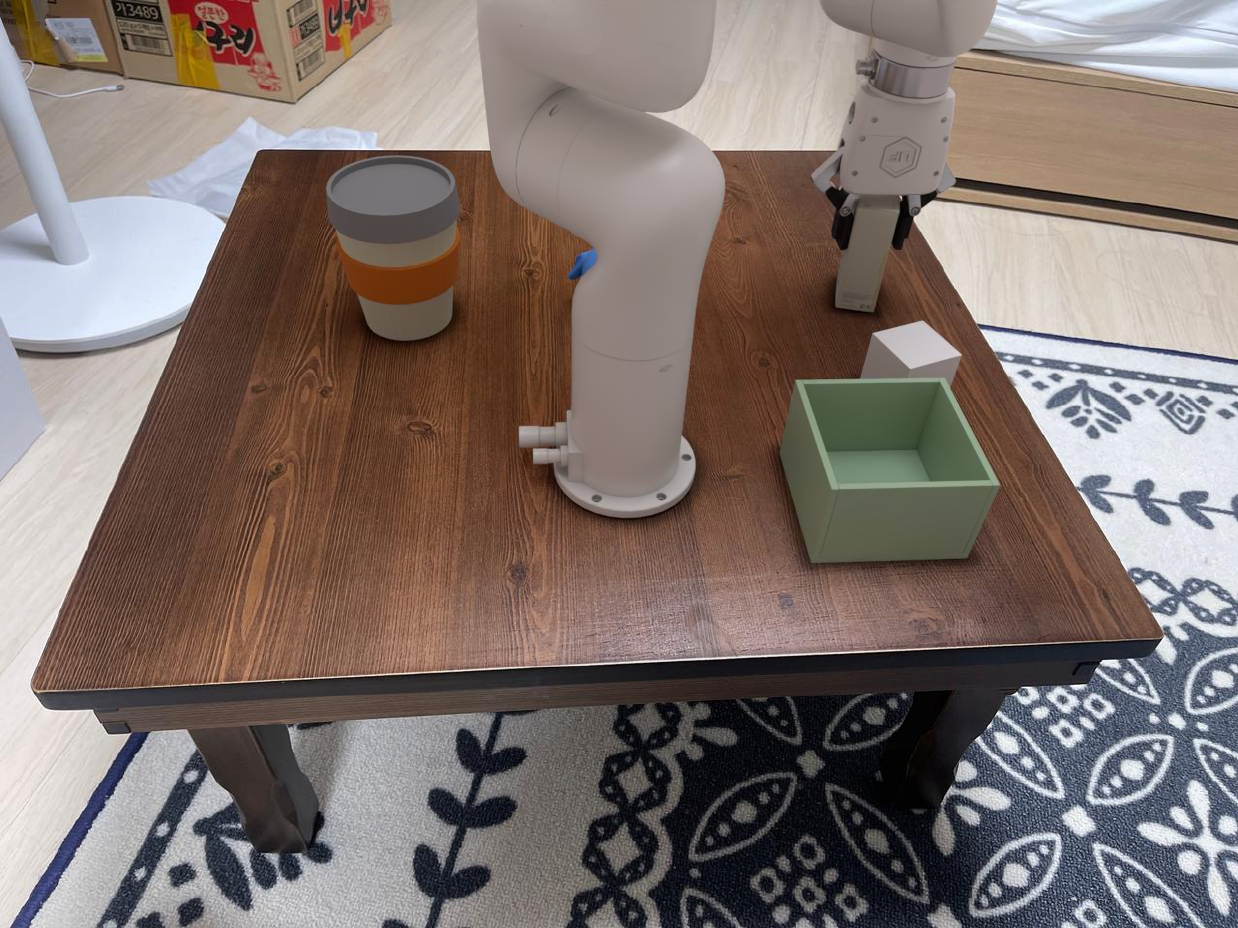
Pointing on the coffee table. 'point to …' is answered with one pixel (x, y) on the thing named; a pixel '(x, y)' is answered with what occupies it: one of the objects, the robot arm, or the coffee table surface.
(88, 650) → the coffee table surface
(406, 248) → the reusable coffee cup
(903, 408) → the bin
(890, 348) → the white cube
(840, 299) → the cosmetic box
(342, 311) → the coffee table surface
